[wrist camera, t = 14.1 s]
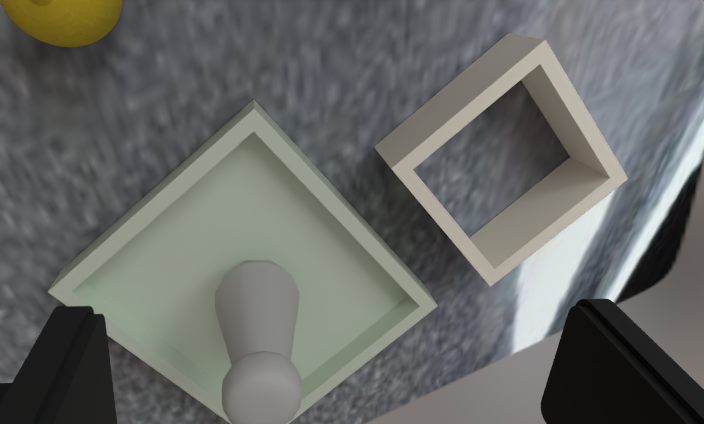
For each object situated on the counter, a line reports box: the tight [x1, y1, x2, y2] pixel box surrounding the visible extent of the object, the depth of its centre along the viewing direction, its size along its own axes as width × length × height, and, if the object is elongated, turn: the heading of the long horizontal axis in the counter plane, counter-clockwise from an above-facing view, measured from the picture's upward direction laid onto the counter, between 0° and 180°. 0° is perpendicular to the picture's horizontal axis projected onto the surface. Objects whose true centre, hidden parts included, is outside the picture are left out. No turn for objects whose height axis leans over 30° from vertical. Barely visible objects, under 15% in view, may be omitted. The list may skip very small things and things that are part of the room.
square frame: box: [374, 33, 628, 287], centre depth 38 cm, size 12×12×5 cm
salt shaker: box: [215, 260, 303, 424], centre depth 34 cm, size 6×6×13 cm
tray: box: [48, 99, 437, 424], centre depth 39 cm, size 18×20×3 cm
